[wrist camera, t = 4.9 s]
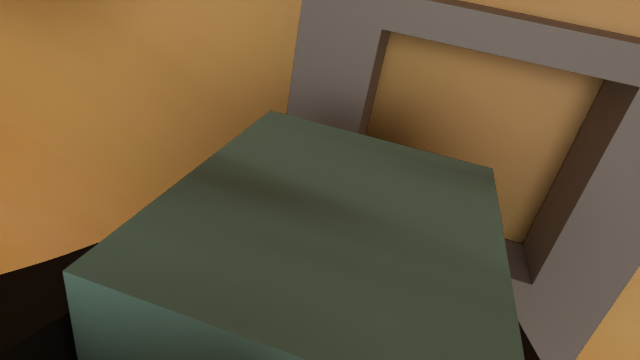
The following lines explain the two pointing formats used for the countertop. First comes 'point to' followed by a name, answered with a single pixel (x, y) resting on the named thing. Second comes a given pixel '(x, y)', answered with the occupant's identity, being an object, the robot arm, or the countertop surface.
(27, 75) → the countertop surface
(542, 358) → the frame
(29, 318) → the robot arm
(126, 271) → the block
